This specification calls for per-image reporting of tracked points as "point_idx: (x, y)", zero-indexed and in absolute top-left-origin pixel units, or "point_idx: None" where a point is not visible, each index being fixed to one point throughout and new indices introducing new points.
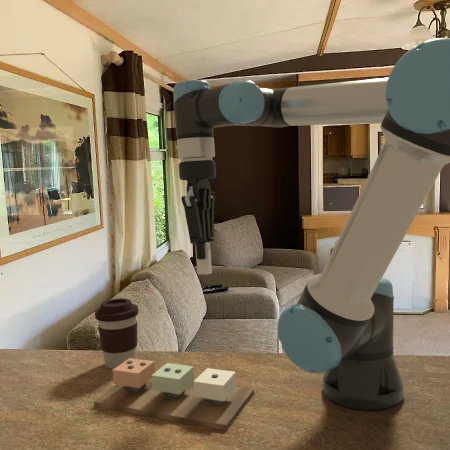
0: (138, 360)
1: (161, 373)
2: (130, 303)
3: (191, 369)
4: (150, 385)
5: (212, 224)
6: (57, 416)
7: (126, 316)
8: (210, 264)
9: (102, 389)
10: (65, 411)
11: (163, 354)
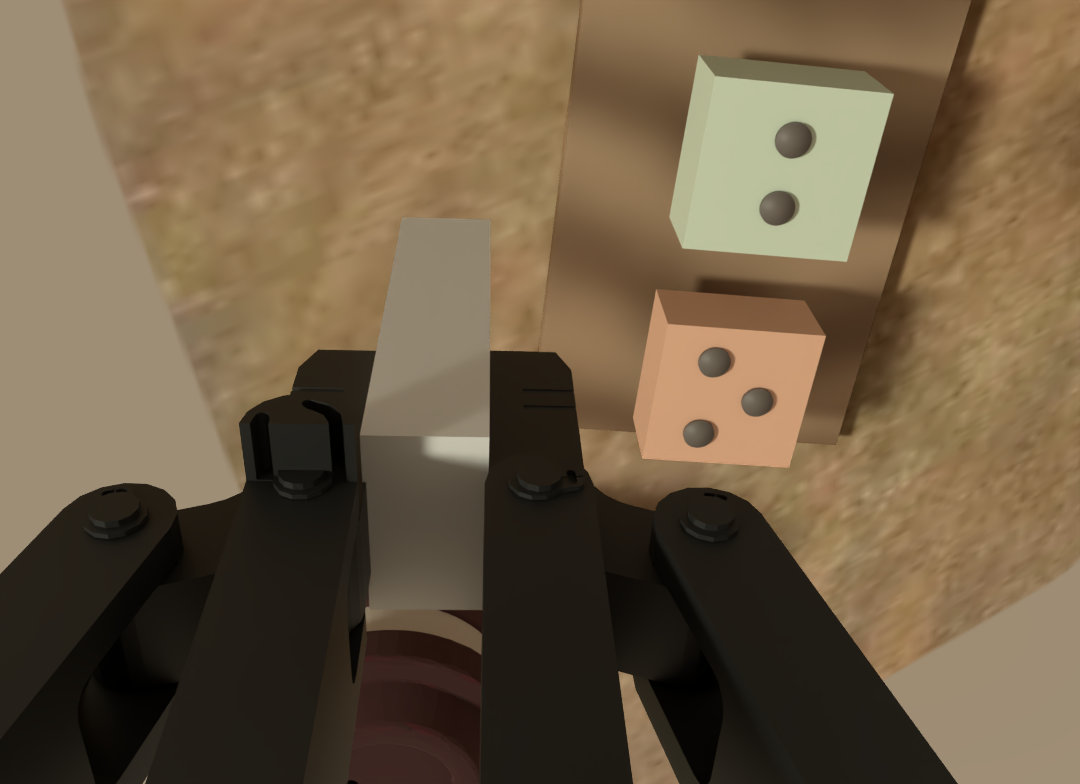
0: (666, 405)
1: (822, 220)
2: (368, 717)
3: (742, 76)
4: (662, 289)
5: (5, 670)
6: (908, 514)
7: (465, 659)
8: (425, 266)
9: (678, 477)
10: (870, 509)
11: (243, 394)
